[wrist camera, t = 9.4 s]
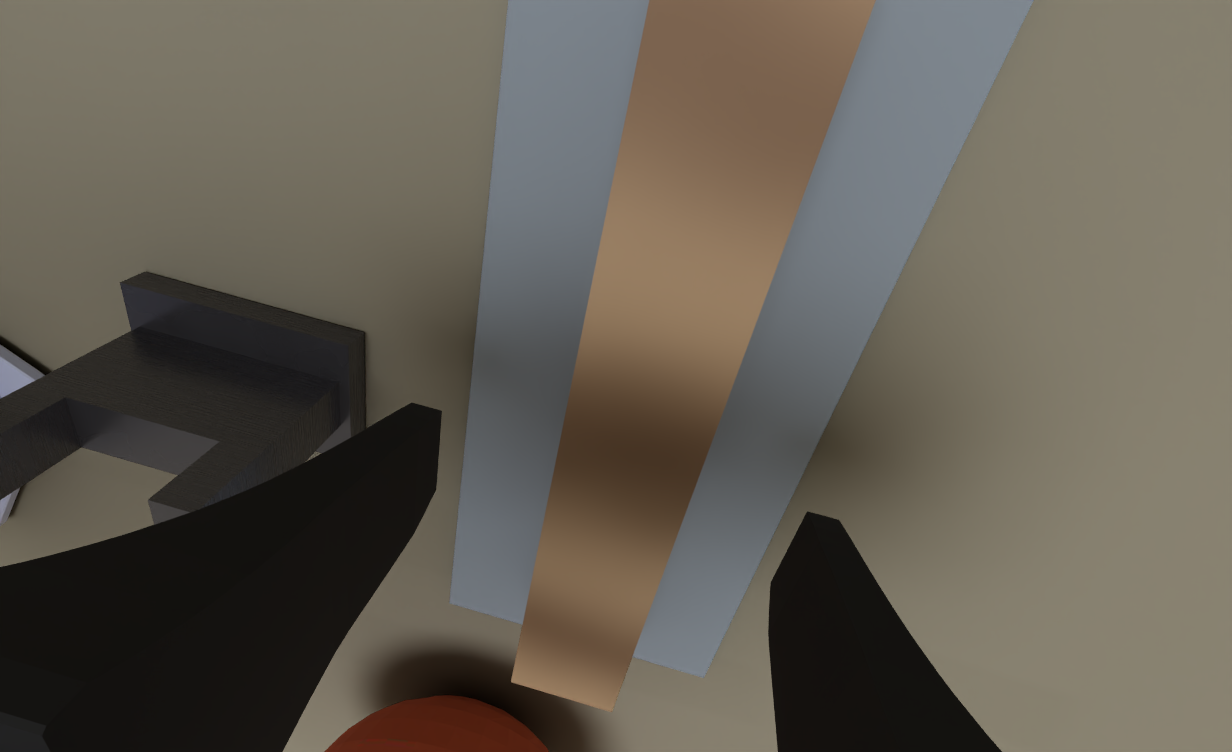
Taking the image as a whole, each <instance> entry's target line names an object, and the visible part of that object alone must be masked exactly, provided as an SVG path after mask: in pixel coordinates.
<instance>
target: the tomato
mask: <svg viewBox="0 0 1232 752" xmlns="http://www.w3.org/2000/svg"><path fill="white" fill-rule="evenodd" d="M325 752H549V751H548V749H547V748H546V746H545V745H544V744H543V743H542V742H541V741H540V740H539V739H538V738H537V737H536V736H535V735H534V734H533V733H532V732H531V731H530V730H529V728H528V727H527V726H525V725H524V724H523V723H521V722H520V721H518V720H517V719H515V718H514V717H513V716H511V715H510V714H508V713H507V712H505V711H504V710H502V709H499V708H497V707H494V706H492V705H489V704H487V703H484V702H482V701H479V700H477V699H472V698H467V697H463V696H453V695H440V696H432V697H427V698H419V699H411V700H404V701H402V702H399V703H396V704H394V705H391V706H389V707H386V708H383V709H381V710H379V711H377V712H375V713H372V714H370V715H369V716H367V717H366V718H364V719H363V720H361V721H360V722H358V723H357V724H355V725H354V726H352V727H351V728H349V729H348V730H347V731H346V732H345V733H343V734H342V735H341V736H340V737H339V738H338V739H337V740H336V741H335V742H334V743H333V744H332V745H331V746H330V747H329V748H328V749H327V750H326V751H325Z"/></svg>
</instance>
